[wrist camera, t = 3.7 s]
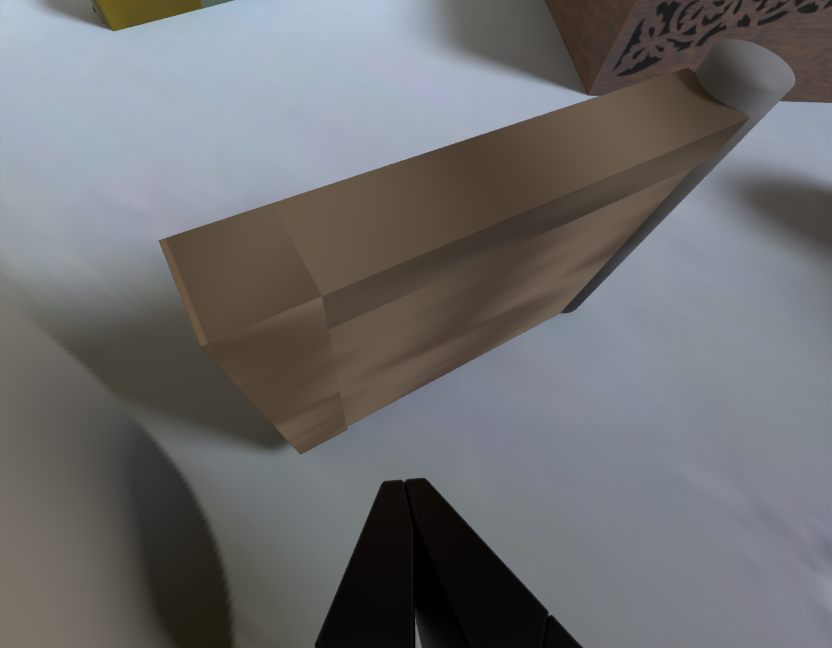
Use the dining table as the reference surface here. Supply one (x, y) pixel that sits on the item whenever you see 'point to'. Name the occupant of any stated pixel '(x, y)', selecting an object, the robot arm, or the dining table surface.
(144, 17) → the medication box
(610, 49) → the tissue box cover
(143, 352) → the dining table surface
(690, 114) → the walnut gate
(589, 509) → the dining table surface
